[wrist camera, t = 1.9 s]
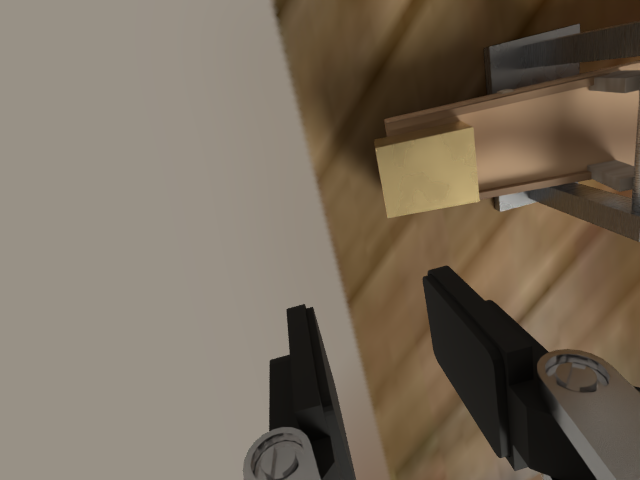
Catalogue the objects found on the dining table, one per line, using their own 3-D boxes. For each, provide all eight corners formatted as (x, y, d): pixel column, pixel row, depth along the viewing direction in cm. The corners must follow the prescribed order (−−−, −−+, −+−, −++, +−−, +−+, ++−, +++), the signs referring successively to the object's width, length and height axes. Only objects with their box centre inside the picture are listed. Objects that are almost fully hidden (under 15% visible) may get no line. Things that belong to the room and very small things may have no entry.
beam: (383, 117, 28) (387, 126, 24) (852, 9, 23) (973, -7, 18) (399, 209, 31) (405, 233, 26) (823, 131, 26) (922, 143, 21)
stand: (483, 47, 29) (606, 20, 18) (572, 25, 29) (743, -15, 19) (495, 209, 34) (597, 260, 23) (570, 188, 34) (707, 230, 23)
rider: (373, 139, 28) (375, 148, 25) (460, 120, 27) (473, 126, 23) (385, 202, 30) (387, 218, 26) (466, 186, 28) (479, 201, 25)
